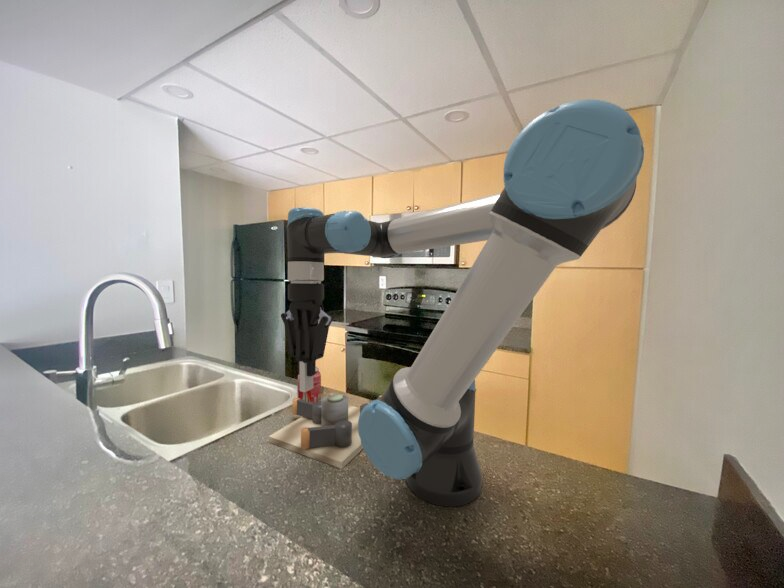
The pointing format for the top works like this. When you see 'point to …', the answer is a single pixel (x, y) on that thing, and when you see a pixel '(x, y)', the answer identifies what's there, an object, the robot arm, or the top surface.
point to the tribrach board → (331, 412)
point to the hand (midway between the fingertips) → (306, 389)
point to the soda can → (314, 393)
